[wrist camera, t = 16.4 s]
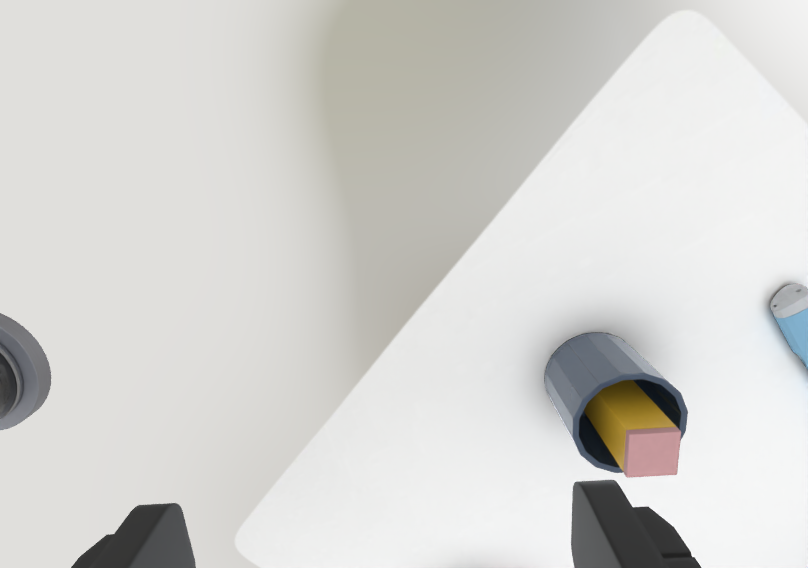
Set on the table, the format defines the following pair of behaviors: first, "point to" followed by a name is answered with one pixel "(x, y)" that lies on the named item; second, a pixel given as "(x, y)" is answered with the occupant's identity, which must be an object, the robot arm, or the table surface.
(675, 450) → the yellow eraser-tipped block
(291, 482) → the table surface
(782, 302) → the pen
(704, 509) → the table surface
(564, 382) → the pen pot
